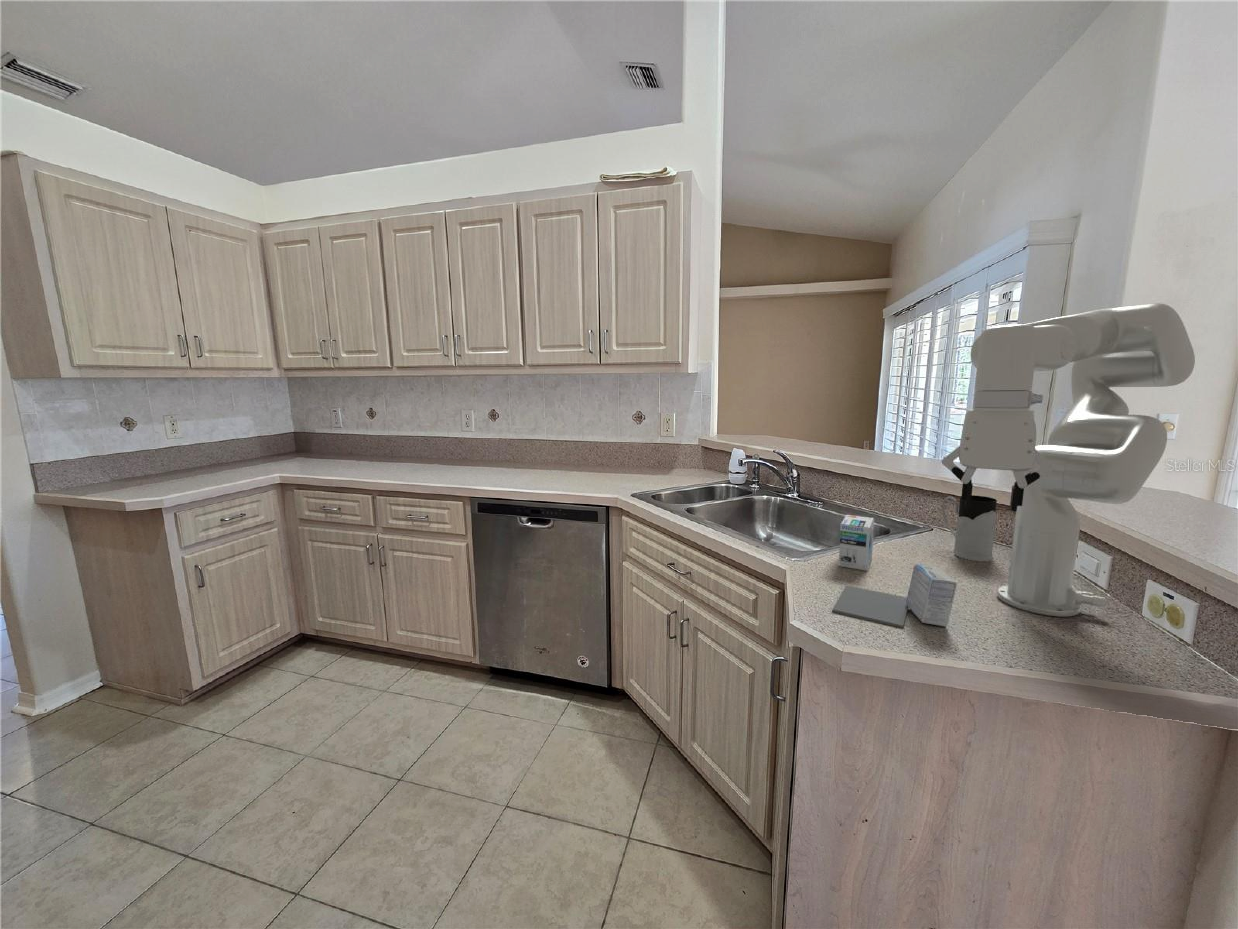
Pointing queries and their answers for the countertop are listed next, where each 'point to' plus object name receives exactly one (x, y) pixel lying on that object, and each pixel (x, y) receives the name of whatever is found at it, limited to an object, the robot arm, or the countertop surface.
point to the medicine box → (931, 595)
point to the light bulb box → (856, 542)
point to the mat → (872, 606)
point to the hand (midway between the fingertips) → (990, 506)
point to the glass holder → (974, 528)
